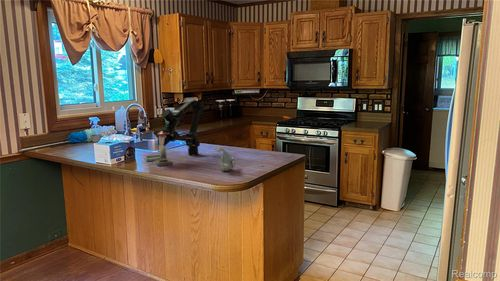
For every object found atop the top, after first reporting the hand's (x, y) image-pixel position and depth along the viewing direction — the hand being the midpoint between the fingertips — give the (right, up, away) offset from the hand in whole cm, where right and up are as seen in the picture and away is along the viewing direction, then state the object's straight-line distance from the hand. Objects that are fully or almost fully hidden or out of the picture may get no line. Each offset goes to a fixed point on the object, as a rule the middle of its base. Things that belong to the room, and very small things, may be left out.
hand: (161, 145), depth 236 cm
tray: (-8, -10, +18) cm, 22 cm away
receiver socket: (+1, -12, +3) cm, 13 cm away
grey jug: (+43, -15, -15) cm, 48 cm away
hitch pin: (+1, -8, +3) cm, 8 cm away
